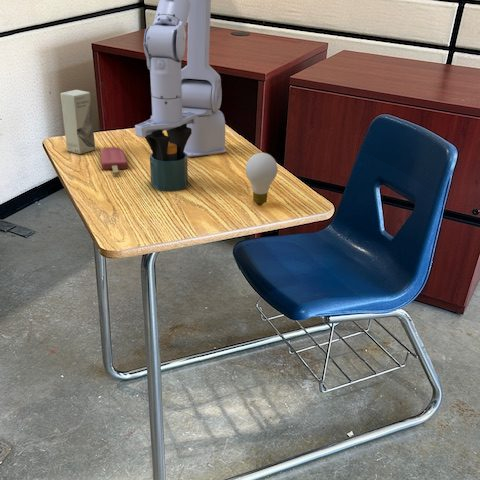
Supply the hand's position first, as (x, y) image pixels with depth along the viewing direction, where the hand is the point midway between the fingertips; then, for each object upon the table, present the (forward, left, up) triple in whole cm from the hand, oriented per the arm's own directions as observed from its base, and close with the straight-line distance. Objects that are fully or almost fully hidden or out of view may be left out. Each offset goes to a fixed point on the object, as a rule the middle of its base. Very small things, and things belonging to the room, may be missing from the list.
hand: (169, 165), depth 121 cm
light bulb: (-12, +16, -4) cm, 21 cm away
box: (+11, -28, -4) cm, 30 cm away
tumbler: (0, 0, -4) cm, 4 cm away
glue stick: (0, 0, -2) cm, 2 cm away
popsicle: (+7, -16, -4) cm, 18 cm away
